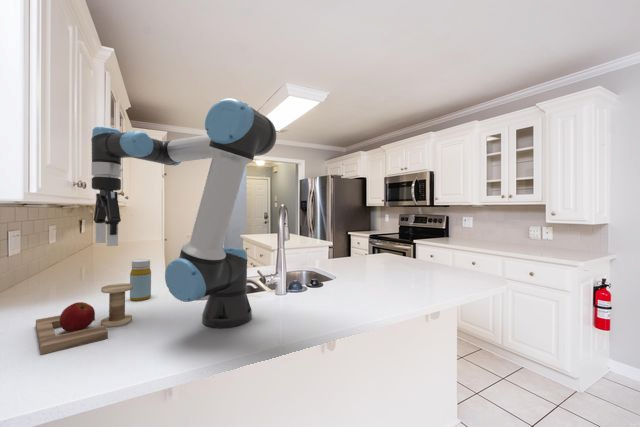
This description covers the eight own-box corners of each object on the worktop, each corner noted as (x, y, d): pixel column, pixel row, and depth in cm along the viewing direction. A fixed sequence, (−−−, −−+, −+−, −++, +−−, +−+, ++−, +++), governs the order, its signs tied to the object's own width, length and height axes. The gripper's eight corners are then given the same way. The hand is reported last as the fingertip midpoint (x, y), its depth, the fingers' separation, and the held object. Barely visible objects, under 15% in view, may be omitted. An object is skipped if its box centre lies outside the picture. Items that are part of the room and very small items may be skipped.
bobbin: (135, 322, 90) (136, 286, 90) (103, 329, 84) (104, 291, 84) (128, 315, 96) (129, 282, 96) (98, 321, 90) (98, 286, 90)
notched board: (107, 338, 78) (107, 330, 78) (40, 354, 69) (40, 346, 69) (91, 315, 95) (91, 309, 95) (35, 326, 86) (35, 319, 86)
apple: (61, 339, 77) (62, 309, 77) (57, 330, 83) (58, 302, 83) (97, 331, 83) (97, 303, 83) (91, 323, 89) (91, 297, 89)
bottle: (154, 296, 117) (155, 259, 117) (142, 301, 110) (143, 262, 110) (138, 295, 118) (139, 258, 118) (125, 300, 111) (126, 261, 111)
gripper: (133, 175, 87) (132, 246, 87) (109, 181, 104) (109, 241, 104) (102, 172, 82) (102, 248, 82) (82, 179, 98) (82, 242, 98)
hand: (106, 244), depth 93 cm, fingers open, 13 cm apart
